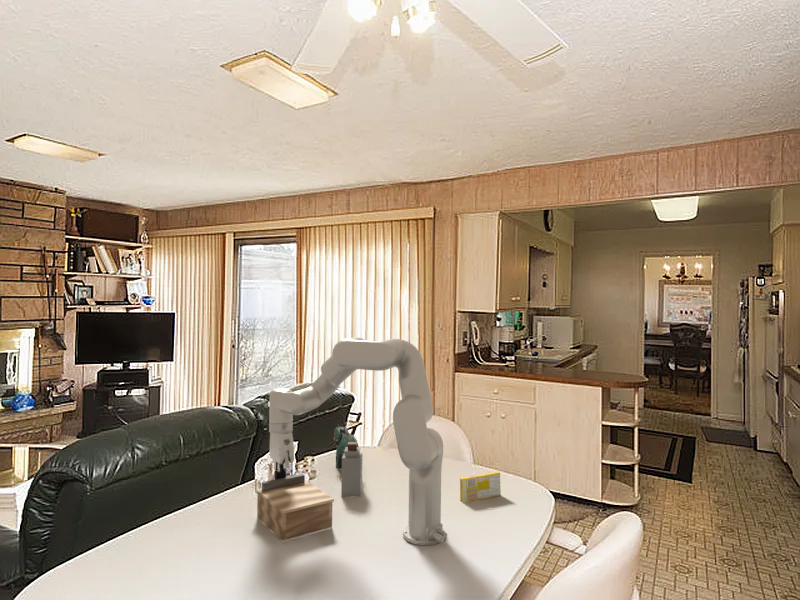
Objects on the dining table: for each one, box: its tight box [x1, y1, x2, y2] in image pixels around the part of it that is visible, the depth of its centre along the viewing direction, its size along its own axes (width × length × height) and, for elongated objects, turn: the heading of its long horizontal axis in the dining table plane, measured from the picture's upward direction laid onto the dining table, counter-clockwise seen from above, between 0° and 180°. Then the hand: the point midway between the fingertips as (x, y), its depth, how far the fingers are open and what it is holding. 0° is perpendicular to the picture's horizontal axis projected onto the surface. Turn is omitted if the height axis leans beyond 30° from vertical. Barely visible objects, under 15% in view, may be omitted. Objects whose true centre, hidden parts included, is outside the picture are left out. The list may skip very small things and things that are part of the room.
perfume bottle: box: [340, 441, 363, 497], centre depth 188 cm, size 7×7×18 cm
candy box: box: [459, 471, 502, 504], centre depth 184 cm, size 16×2×8 cm, turn 116°
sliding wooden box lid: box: [256, 473, 335, 514], centre depth 161 cm, size 20×17×3 cm
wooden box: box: [256, 493, 333, 543], centre depth 162 cm, size 20×16×8 cm
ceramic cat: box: [333, 421, 361, 470], centre depth 210 cm, size 20×6×20 cm, turn 27°
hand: (280, 482), depth 170 cm, fingers closed
